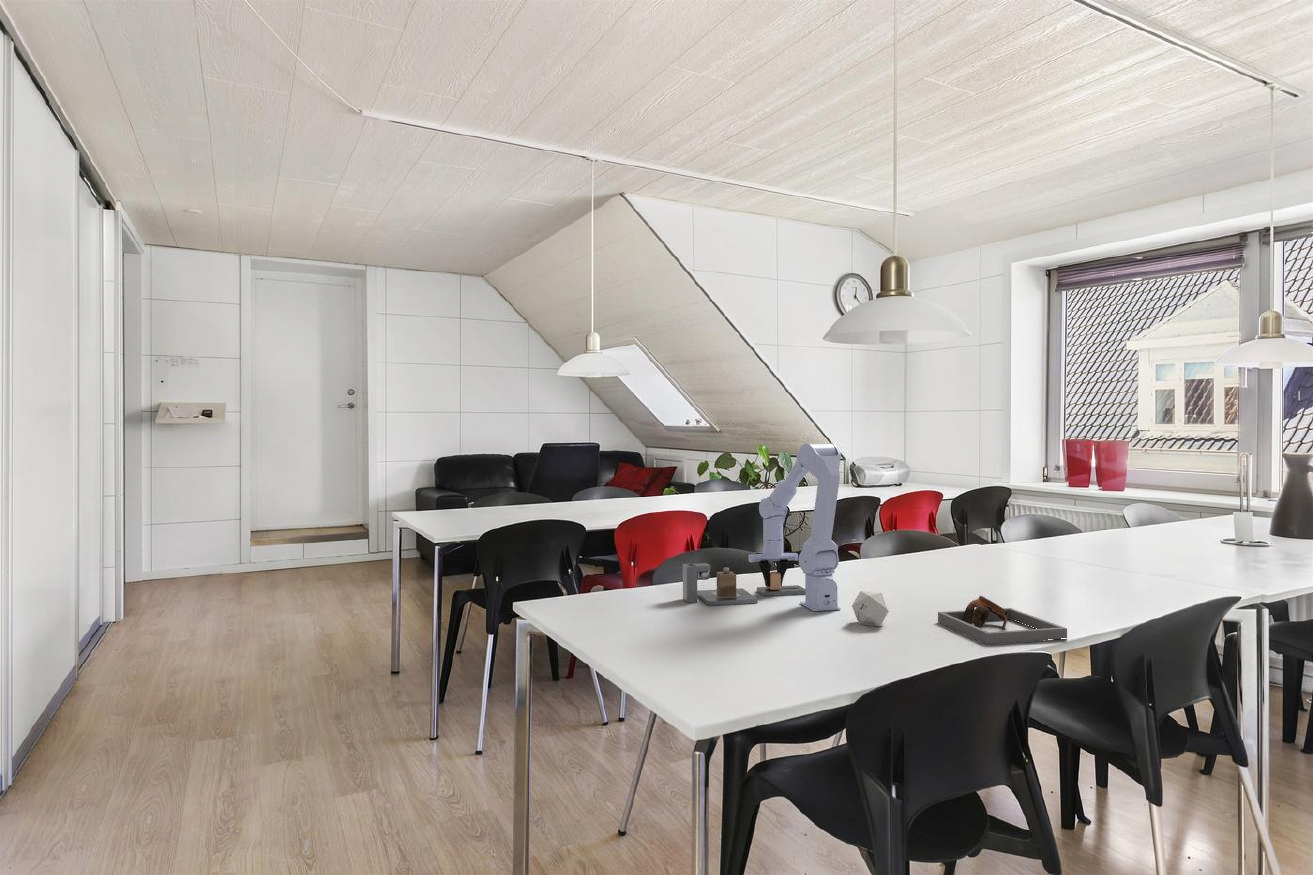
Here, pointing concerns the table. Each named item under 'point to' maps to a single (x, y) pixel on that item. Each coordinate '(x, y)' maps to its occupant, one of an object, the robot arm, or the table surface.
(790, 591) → the base
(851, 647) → the table surface
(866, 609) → the die
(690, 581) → the press
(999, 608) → the brown arched piece
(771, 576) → the peach small block
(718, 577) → the block
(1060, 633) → the tray
